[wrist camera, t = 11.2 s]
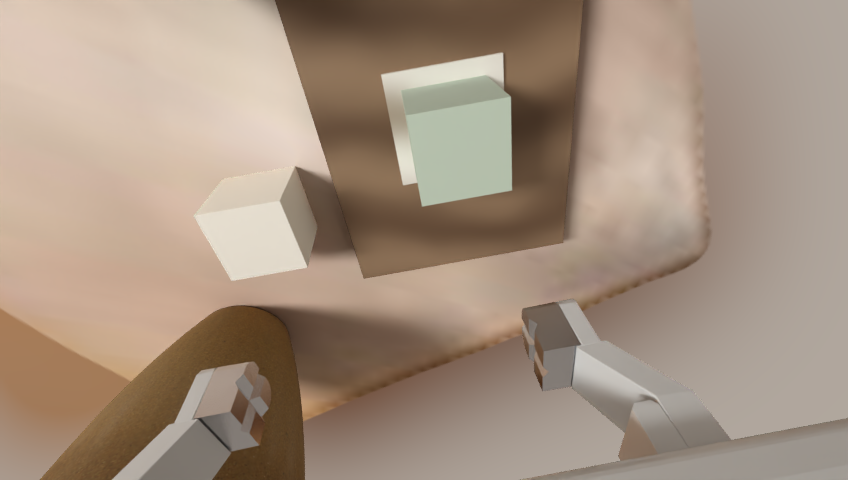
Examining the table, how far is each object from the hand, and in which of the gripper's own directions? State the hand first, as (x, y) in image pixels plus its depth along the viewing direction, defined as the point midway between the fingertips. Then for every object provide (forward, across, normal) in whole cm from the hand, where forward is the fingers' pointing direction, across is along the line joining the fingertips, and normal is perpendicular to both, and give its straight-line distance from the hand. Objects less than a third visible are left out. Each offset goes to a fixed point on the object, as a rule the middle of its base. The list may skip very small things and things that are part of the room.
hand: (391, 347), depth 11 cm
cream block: (+17, +9, +3) cm, 19 cm away
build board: (+17, -4, -1) cm, 18 cm away
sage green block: (+15, -4, -1) cm, 16 cm away
